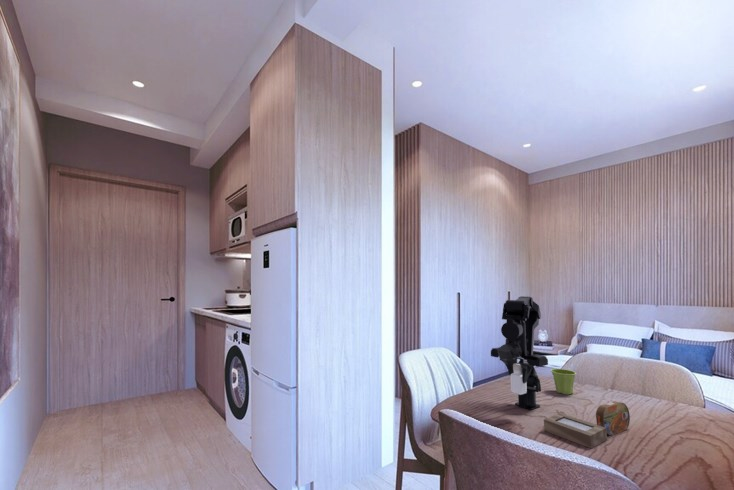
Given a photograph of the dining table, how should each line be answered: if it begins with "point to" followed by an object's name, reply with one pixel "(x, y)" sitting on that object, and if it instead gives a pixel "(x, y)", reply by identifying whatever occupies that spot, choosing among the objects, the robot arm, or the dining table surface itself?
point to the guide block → (575, 431)
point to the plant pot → (563, 380)
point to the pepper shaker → (518, 381)
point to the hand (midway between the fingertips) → (518, 381)
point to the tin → (613, 417)
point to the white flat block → (575, 424)
